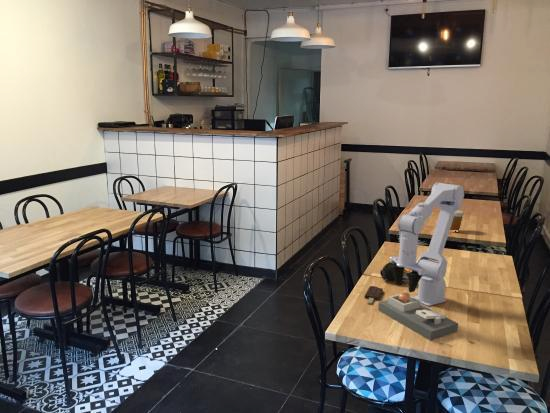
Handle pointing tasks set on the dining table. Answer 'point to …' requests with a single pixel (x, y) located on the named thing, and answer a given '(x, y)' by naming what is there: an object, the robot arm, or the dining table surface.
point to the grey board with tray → (417, 318)
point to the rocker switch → (430, 314)
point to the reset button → (404, 297)
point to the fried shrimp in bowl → (388, 273)
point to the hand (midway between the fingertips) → (405, 288)
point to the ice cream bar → (373, 294)
